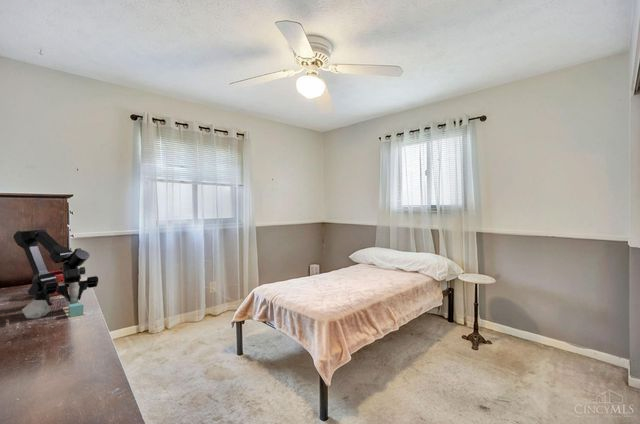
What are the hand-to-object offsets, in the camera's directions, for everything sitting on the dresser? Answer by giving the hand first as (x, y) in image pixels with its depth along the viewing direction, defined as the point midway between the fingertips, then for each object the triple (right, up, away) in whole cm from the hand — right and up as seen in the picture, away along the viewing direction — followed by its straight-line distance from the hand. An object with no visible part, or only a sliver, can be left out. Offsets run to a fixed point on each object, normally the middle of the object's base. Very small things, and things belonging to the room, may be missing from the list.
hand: (74, 300), depth 131 cm
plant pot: (-38, -6, +32) cm, 50 cm away
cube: (+3, -5, -3) cm, 7 cm away
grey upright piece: (-1, -7, +1) cm, 7 cm away
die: (-13, -7, -4) cm, 15 cm away
